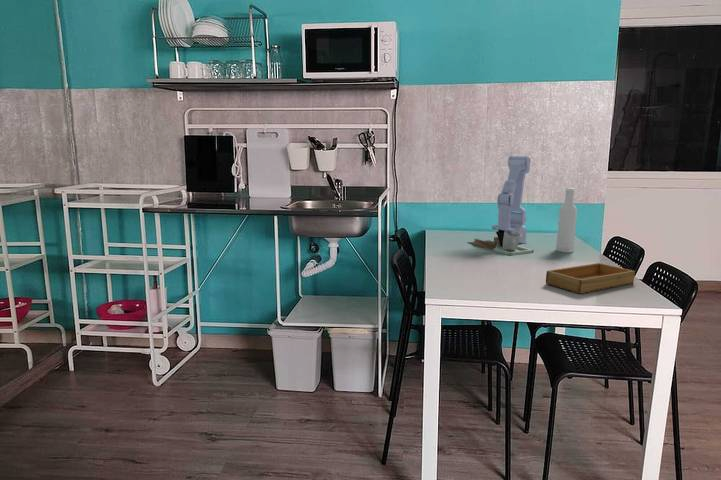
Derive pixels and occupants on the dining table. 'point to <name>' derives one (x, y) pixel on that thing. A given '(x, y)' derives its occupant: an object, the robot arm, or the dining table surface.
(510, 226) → the robot arm
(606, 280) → the tray
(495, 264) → the dining table surface
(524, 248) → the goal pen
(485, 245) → the channel
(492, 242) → the pad
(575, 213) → the bottle
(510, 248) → the cup
